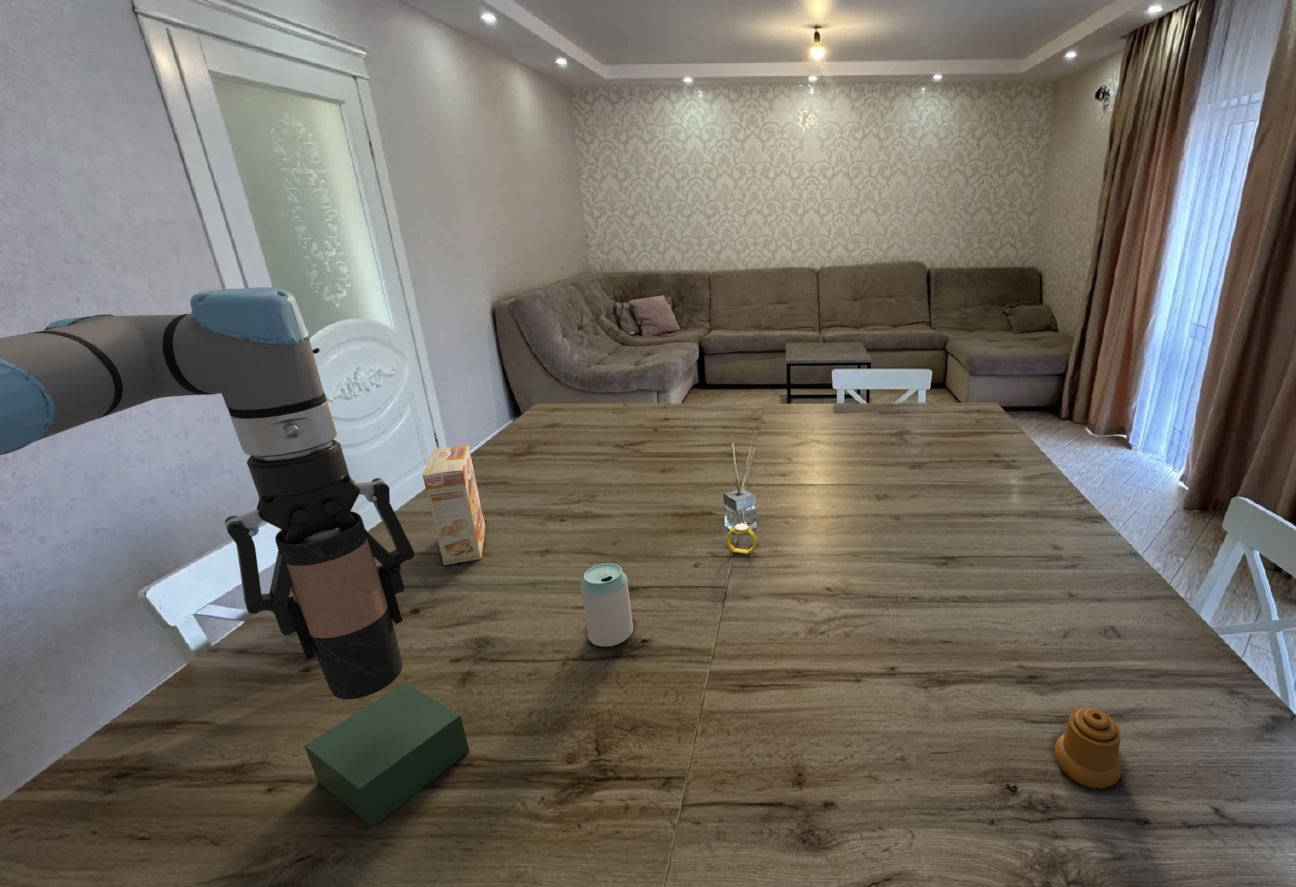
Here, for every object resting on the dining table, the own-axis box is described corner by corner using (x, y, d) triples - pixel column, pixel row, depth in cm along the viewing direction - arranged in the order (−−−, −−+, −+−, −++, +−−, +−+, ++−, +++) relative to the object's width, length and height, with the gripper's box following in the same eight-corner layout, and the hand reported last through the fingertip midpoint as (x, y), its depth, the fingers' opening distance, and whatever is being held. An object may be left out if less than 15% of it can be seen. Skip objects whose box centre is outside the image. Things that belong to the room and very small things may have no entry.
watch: (725, 555, 122) (724, 529, 120) (729, 547, 125) (727, 522, 123) (755, 557, 122) (754, 530, 119) (757, 549, 124) (756, 524, 122)
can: (641, 625, 102) (634, 564, 97) (619, 653, 95) (610, 588, 91) (604, 618, 103) (595, 558, 99) (580, 645, 97) (569, 581, 93)
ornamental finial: (1106, 805, 70) (1043, 766, 75) (1128, 766, 75) (1067, 732, 80) (1119, 753, 68) (1052, 716, 73) (1141, 716, 72) (1077, 684, 77)
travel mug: (378, 702, 67) (328, 545, 60) (311, 701, 68) (253, 545, 60) (419, 655, 75) (378, 510, 67) (358, 654, 75) (311, 509, 68)
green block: (372, 828, 69) (358, 789, 66) (318, 782, 74) (303, 745, 72) (470, 751, 78) (460, 715, 76) (415, 716, 84) (405, 681, 82)
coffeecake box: (482, 559, 122) (462, 470, 115) (442, 566, 119) (420, 475, 112) (486, 525, 135) (469, 443, 128) (451, 532, 132) (431, 448, 125)
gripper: (151, 490, 51) (240, 700, 60) (418, 430, 65) (461, 608, 73) (149, 466, 56) (232, 664, 65) (398, 415, 70) (440, 583, 78)
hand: (354, 634), depth 69 cm, fingers closed on travel mug, 8 cm apart
